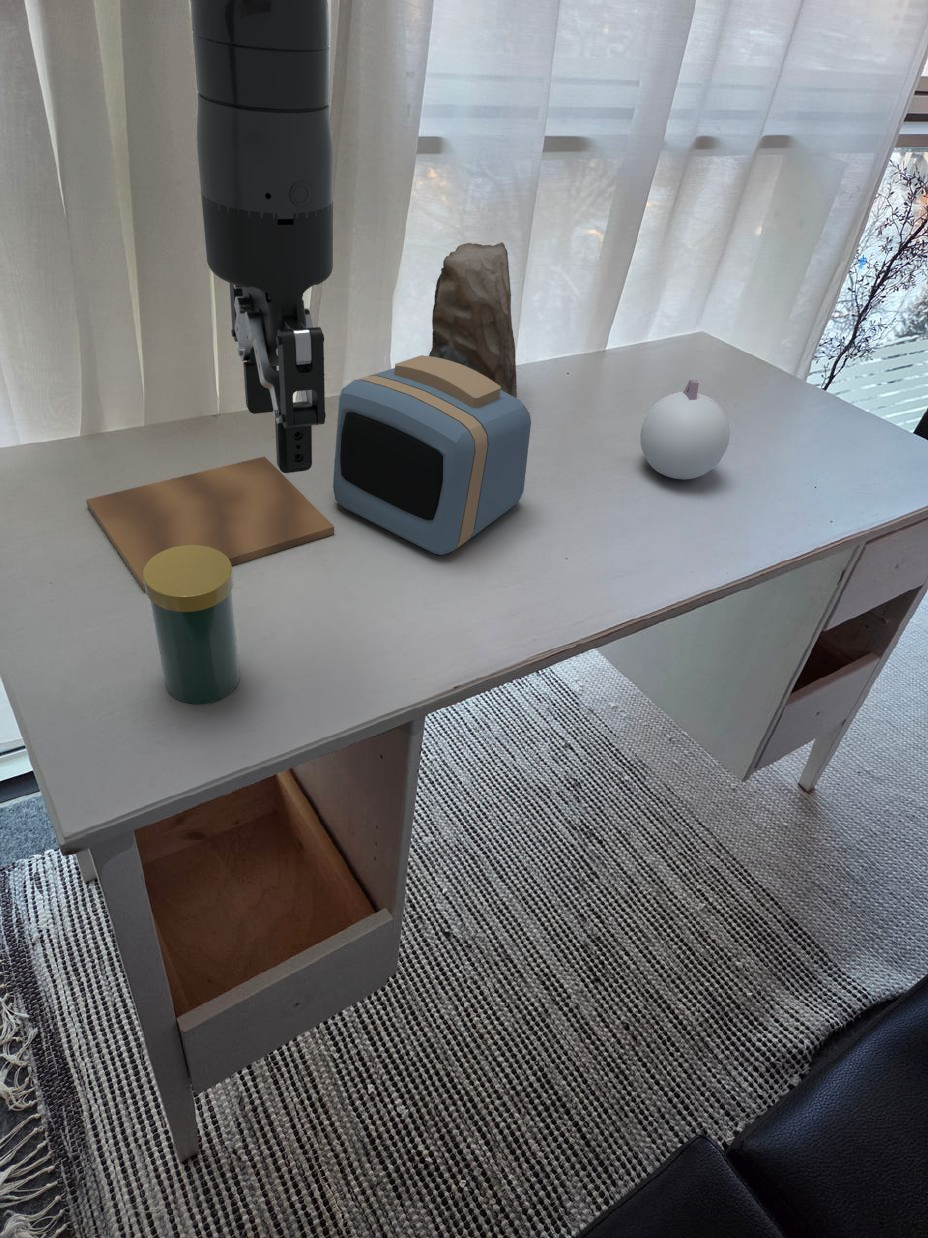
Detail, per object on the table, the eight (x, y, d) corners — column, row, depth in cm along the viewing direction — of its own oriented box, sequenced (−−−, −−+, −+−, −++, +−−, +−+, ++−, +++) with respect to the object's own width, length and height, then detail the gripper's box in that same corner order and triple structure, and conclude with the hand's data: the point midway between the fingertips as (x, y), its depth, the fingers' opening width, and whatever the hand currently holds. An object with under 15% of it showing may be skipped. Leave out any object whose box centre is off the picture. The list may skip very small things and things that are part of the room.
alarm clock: (324, 506, 92) (323, 368, 81) (415, 452, 102) (424, 325, 92) (444, 568, 85) (460, 427, 75) (527, 504, 96) (551, 373, 86)
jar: (180, 717, 67) (162, 607, 59) (150, 668, 70) (129, 559, 63) (255, 688, 70) (246, 580, 63) (222, 643, 74) (210, 536, 66)
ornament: (616, 458, 107) (639, 369, 99) (678, 446, 111) (704, 360, 103) (667, 500, 100) (696, 408, 92) (730, 485, 104) (763, 396, 97)
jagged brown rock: (421, 426, 108) (434, 266, 95) (414, 382, 117) (424, 231, 104) (517, 430, 110) (542, 273, 97) (502, 387, 119) (524, 239, 106)
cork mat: (145, 592, 78) (143, 584, 77) (87, 507, 87) (85, 499, 86) (334, 534, 88) (334, 526, 87) (265, 463, 97) (264, 455, 96)
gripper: (178, 155, 52) (202, 398, 62) (230, 227, 42) (249, 500, 53) (296, 157, 55) (301, 389, 65) (370, 225, 45) (362, 484, 56)
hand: (277, 438), depth 59 cm, fingers open, 8 cm apart
